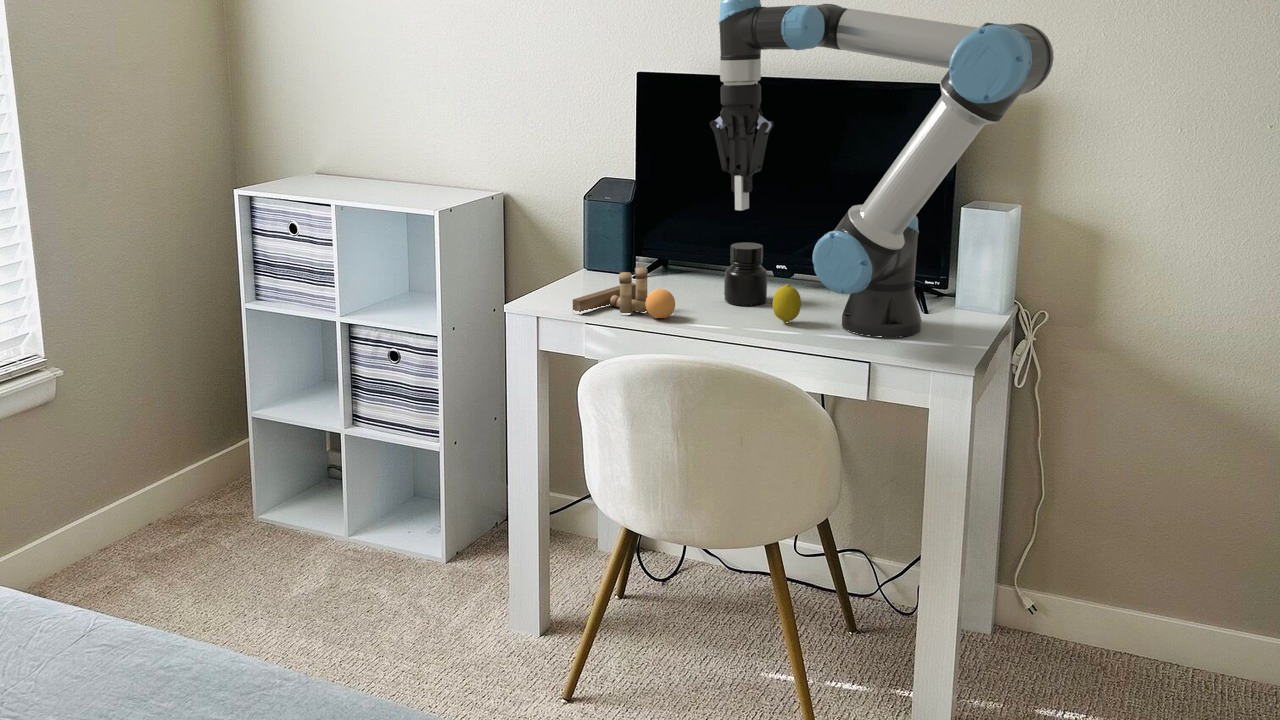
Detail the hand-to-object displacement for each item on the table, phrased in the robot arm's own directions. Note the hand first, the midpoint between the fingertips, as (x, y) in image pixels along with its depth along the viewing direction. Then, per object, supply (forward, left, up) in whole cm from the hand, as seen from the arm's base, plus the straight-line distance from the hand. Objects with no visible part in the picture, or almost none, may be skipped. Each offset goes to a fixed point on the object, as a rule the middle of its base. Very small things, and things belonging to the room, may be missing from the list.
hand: (742, 209), depth 224 cm
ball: (+15, +7, -20) cm, 26 cm away
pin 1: (+22, +9, -23) cm, 33 cm away
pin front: (+19, +6, -22) cm, 30 cm away
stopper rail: (+30, +6, -23) cm, 38 cm away
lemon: (-7, -6, -23) cm, 25 cm away
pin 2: (+22, +4, -23) cm, 32 cm away
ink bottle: (+9, -15, -23) cm, 29 cm away
